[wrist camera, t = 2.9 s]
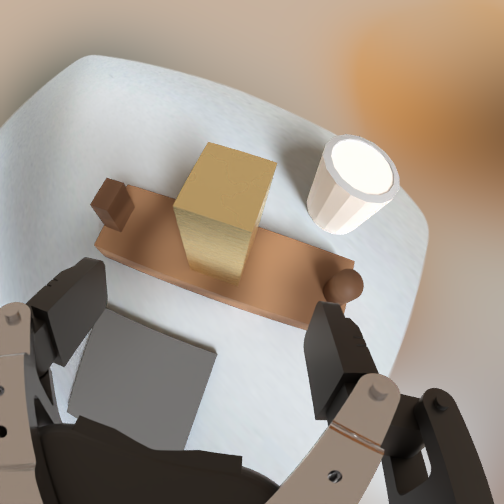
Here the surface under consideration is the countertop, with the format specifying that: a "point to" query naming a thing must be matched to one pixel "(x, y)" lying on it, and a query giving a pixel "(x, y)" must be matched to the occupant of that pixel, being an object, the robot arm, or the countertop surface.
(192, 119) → the countertop surface
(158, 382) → the mat
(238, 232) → the pale wooden block
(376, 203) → the white cup
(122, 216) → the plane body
